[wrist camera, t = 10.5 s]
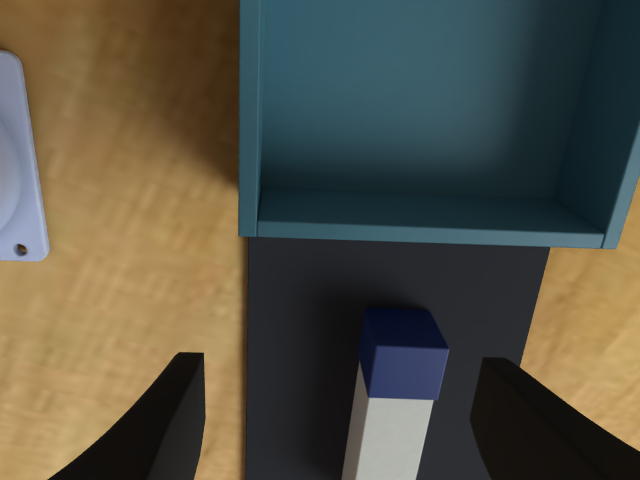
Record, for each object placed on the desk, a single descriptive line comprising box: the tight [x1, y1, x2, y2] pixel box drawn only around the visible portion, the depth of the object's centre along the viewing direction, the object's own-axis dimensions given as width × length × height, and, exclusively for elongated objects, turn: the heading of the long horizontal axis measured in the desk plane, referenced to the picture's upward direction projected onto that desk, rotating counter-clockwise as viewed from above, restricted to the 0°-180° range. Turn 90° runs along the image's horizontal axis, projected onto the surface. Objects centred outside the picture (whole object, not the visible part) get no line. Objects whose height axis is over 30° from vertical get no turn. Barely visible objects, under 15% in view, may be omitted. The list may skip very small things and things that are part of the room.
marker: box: [341, 307, 449, 480], centre depth 24 cm, size 12×3×3 cm, turn 174°
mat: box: [246, 236, 550, 480], centre depth 25 cm, size 13×19×1 cm
